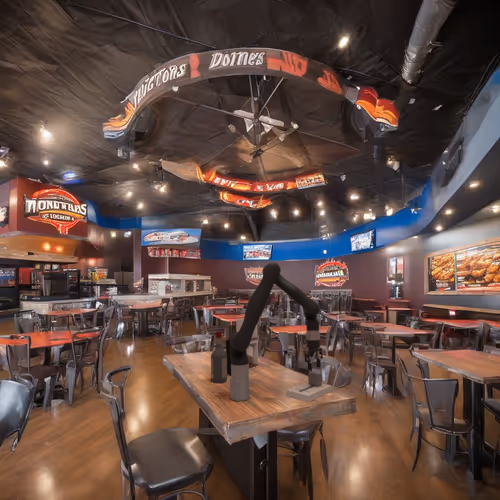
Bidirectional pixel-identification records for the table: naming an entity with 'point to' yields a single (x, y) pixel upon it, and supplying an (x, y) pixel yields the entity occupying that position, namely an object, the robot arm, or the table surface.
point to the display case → (253, 347)
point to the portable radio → (228, 356)
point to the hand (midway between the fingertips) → (314, 368)
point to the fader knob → (315, 378)
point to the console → (308, 391)
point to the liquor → (218, 362)
